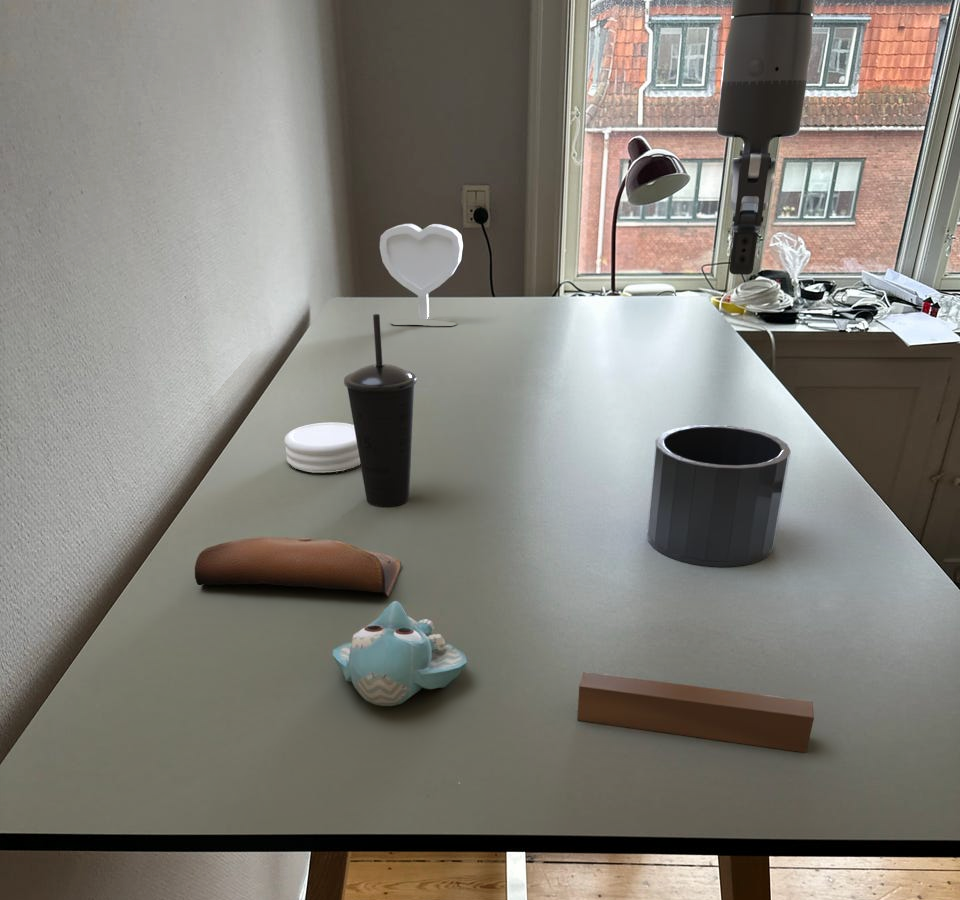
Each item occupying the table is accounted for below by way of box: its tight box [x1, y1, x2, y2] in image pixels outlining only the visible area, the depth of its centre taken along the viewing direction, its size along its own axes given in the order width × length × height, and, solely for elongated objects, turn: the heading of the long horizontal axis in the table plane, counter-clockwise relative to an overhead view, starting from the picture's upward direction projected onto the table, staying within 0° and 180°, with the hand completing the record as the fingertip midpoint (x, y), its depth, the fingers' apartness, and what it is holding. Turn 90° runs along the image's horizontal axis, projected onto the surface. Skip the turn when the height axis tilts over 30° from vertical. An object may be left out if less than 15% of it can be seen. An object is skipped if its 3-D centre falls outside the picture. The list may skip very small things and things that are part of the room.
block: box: [576, 671, 815, 754], centre depth 65 cm, size 2×16×3 cm, turn 76°
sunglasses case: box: [194, 536, 402, 597], centre depth 86 cm, size 18×7×7 cm
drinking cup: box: [343, 313, 417, 508], centre depth 99 cm, size 8×8×20 cm
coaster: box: [284, 421, 361, 471], centre depth 114 cm, size 10×10×4 cm
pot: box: [646, 424, 792, 568], centre depth 91 cm, size 13×13×10 cm
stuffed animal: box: [332, 600, 468, 707], centre depth 71 cm, size 11×7×12 cm
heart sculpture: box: [379, 223, 464, 319], centre depth 178 cm, size 16×5×18 cm, turn 81°
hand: (740, 266), depth 92 cm, fingers open, 8 cm apart
